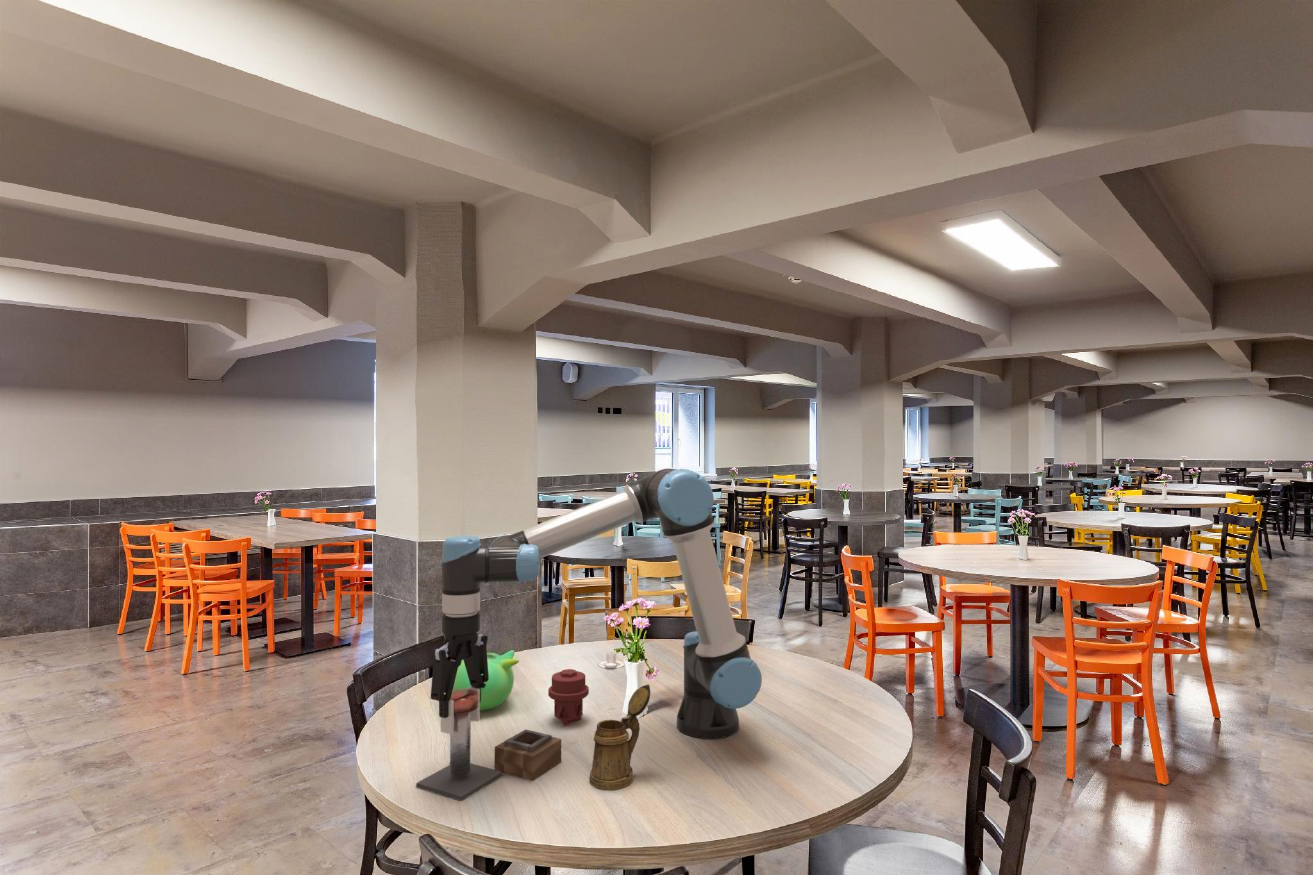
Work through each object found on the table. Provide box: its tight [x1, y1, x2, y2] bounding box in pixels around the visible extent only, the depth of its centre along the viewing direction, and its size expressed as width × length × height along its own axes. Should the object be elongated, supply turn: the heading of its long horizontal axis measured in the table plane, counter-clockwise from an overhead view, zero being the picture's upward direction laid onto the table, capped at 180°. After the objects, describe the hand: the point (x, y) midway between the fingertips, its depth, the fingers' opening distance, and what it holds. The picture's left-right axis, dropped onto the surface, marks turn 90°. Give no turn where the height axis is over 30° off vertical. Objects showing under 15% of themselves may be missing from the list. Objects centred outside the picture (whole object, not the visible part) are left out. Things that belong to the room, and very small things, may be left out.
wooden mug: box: [588, 684, 651, 791], centre depth 149 cm, size 9×14×18 cm, turn 120°
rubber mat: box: [415, 762, 504, 802], centre depth 146 cm, size 12×12×1 cm
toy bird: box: [453, 649, 520, 711], centre depth 189 cm, size 18×17×15 cm
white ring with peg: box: [598, 651, 625, 669], centre depth 225 cm, size 9×8×4 cm
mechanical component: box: [547, 668, 590, 727], centre depth 179 cm, size 12×10×10 cm
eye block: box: [493, 729, 562, 782], centre depth 153 cm, size 10×10×6 cm
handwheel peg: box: [444, 689, 478, 776], centre depth 147 cm, size 7×7×16 cm
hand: (460, 725), depth 147 cm, fingers closed on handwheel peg, 7 cm apart
